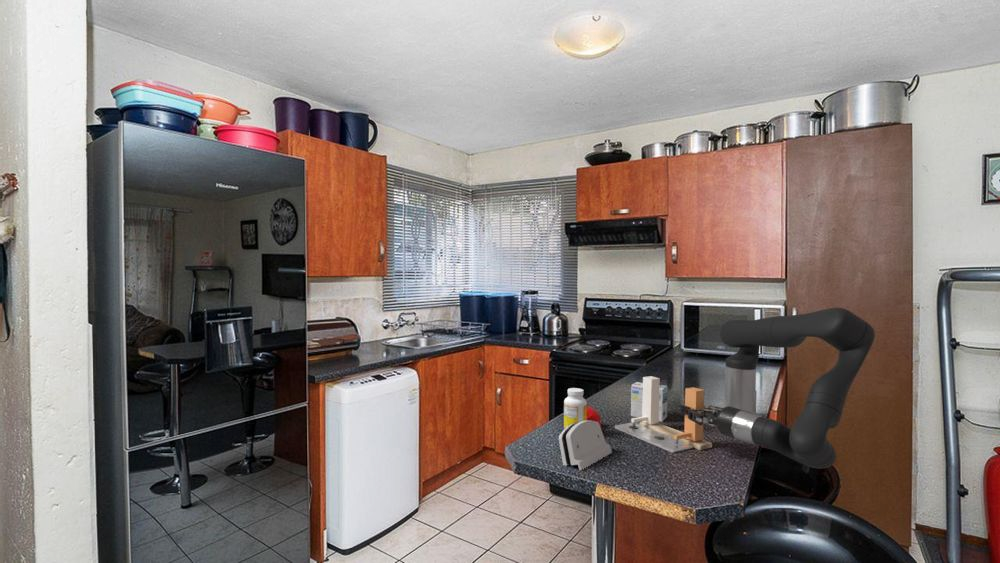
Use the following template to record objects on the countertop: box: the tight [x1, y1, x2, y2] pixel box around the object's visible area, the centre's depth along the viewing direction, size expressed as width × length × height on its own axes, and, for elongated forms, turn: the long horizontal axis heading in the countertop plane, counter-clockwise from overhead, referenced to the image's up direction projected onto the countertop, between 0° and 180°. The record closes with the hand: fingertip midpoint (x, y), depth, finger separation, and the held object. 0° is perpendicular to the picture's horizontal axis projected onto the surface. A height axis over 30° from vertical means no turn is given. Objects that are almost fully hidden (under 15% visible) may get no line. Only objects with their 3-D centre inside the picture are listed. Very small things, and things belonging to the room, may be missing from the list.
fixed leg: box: [630, 375, 661, 427], centre depth 141 cm, size 9×4×14 cm, turn 119°
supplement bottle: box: [563, 387, 588, 430], centre depth 136 cm, size 7×7×13 cm
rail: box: [638, 421, 713, 451], centre depth 135 cm, size 5×22×1 cm, turn 29°
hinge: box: [558, 420, 613, 471], centre depth 118 cm, size 17×5×10 cm, turn 139°
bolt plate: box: [614, 422, 693, 454], centre depth 133 cm, size 8×22×1 cm, turn 29°
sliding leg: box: [674, 386, 705, 444], centre depth 128 cm, size 9×4×14 cm, turn 119°
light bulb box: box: [630, 381, 668, 423], centre depth 154 cm, size 11×7×11 cm, turn 58°
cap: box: [586, 406, 602, 428], centre depth 142 cm, size 8×6×6 cm
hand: (685, 407), depth 131 cm, fingers closed on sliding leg, 3 cm apart
